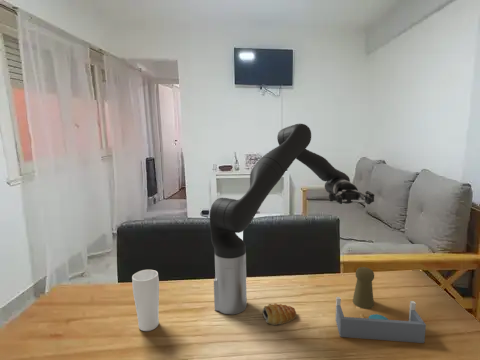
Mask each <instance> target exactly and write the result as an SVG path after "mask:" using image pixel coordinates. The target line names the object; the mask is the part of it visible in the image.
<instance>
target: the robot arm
mask: <svg viewBox="0 0 480 360" xmlns="http://www.w3.org/2000/svg"><path fill="white" fill-rule="evenodd" d="M311 140H312V131H311V128H310V127H309V126H308V125H307V124H305V123H296V124H293V125H290V126H287V127H286V126H285V127H284V128H282V129H281V130H279V132H278V133H277V142H278V146H276V147H274V148H273V149H271V150H270V151H268V152H267V153H265V154H264V155H263V156H262V157H260V159H259V160H258V161H257V162H256V163H255V164H254V165H253V167H252V168H251V170H250V175H249V188H248V190H247V191H246V192H245V194H244V195H243V196H242V197H241V198H239V199H236V198H235V199H234V198H228V197H219V198H216V199H215V200H214V201H213V203H212V205H211V207H210V211H209V226H210V228H209V229H210V240H211V244H212V247H213V248H214V249H213V251H214V270H215V271H214V272H215V273H214V275H215V276H214V279H213V299H214V301H213V302H214V311H218V312H220V313H221V314H224V315H238V314H240V313H242V312H244V311H245V310H246V309H247V306H248V305H247V303H248V299H247V252H246V251H247V249H246V243H245V241H244V240H243V239H242V238H241V237H240V236H238V233H242V232H244V231H245V230H246V229H247V228H248V227H249V226H250V224H251V223H252V221H253V219H254V218H255V216H256V215H257V213H258V211H259V209H260V208H261V206H262V204H263V203H264V201H265V199H266V198H267V197H268V196H269V194H270V193H271V191H272V190H273V189H274V187H276V185H277V184H278V182H279V181H280V180H281V179H282V177H283V176H284V175H285V173H286V171H287V170H288V169H289V168H290V167H291V165H292V164H293V163H294V161H295V160H297V161H299V162H300V163H301V164H303V165H304V166H306V167H308V168H309V169H310V170H311V171H312V172H313V173H314V174H315V175H316V176H317V177H318V178H319V179H320V180H321V181H323V182H325V183H324V189H325V191H326V192H327V193H328V196H327V197H328V201H329V202H334V201H335V203H338V204H340V205H343V204H346V205H348V204H352V203H354V202H357V203H363V202H365V204H366V205H371V204H372V203H374V202H375V194H374V193H372V192H371V191H370V190H366V191H365V192H364V191H361V190H360V191H359V189H358V188H357V186H356V185H354V184H353V182H351V179H350V177H349V176H348V174H346V173H345V172H343V171H341V170H339V169H337V168H336V167H334V166H333V165H332V164H331V163H330V162H329V161H328V160H327V159H326V158H325V157H324V156H321V155H320V154H318V153H315V152H313V151H310V150H308V149H307V147H308V146H310V143H311Z"/></svg>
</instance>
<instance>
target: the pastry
mask: <svg viewBox="0 0 480 360" xmlns="http://www.w3.org/2000/svg"><path fill="white" fill-rule="evenodd" d="M262 314H263V318H264V320H265V322H266V323H267V324H268V325H272V326H277V325H284V324H287V323H290V322H293V320H295V319H296V318H297V312H296V309H295V307H293V306H290V305H286V304H281V303H280V304H278V303H274V304H272V303H269V304H268V305H264V307H263V308H262Z"/></svg>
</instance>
